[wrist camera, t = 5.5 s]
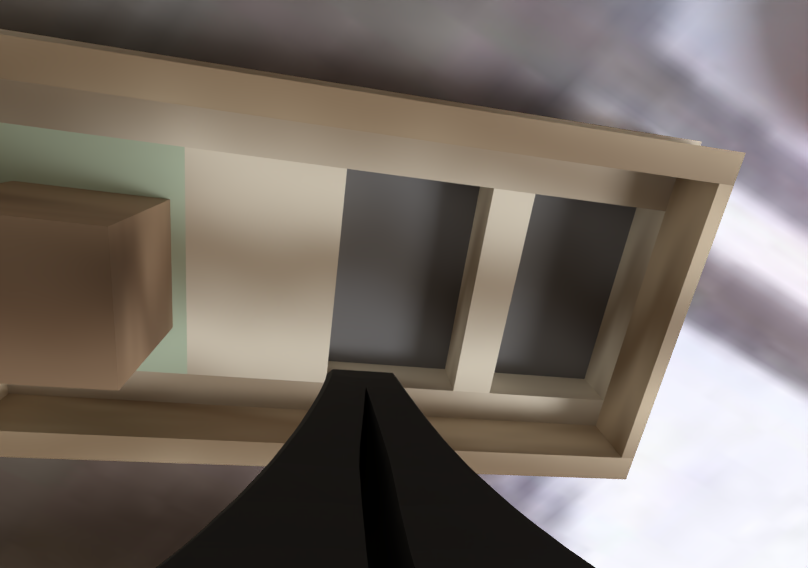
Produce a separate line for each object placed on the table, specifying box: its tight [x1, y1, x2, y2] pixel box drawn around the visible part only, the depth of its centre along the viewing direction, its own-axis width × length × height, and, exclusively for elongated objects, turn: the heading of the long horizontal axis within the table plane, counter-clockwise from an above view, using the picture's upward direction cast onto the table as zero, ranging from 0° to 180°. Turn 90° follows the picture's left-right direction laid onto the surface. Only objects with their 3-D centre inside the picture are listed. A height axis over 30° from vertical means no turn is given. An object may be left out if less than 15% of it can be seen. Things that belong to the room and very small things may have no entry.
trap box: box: [0, 29, 745, 479], centre depth 16 cm, size 13×24×4 cm, turn 82°
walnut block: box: [0, 181, 173, 391], centre depth 13 cm, size 4×4×4 cm
